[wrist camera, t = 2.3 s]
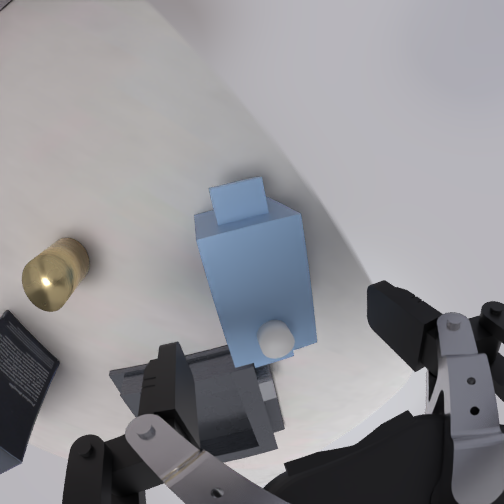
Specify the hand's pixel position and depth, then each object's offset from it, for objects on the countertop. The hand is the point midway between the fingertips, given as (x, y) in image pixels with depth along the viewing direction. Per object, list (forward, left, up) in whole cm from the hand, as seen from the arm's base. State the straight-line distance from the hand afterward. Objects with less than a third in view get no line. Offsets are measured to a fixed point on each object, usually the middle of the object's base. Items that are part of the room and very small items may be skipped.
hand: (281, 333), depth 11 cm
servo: (0, 0, -8) cm, 8 cm away
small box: (+4, -22, -8) cm, 24 cm away
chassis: (+12, -6, -8) cm, 15 cm away
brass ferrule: (-3, -11, -8) cm, 14 cm away
